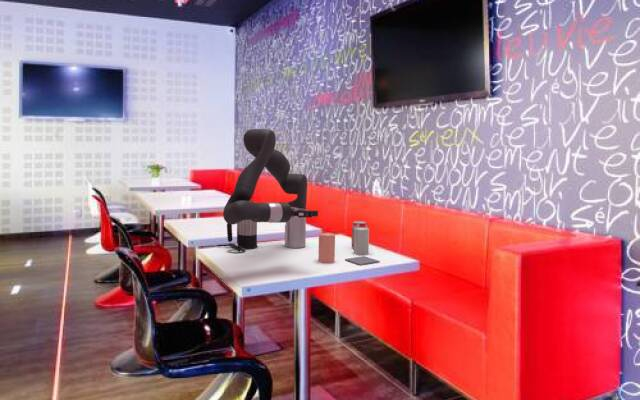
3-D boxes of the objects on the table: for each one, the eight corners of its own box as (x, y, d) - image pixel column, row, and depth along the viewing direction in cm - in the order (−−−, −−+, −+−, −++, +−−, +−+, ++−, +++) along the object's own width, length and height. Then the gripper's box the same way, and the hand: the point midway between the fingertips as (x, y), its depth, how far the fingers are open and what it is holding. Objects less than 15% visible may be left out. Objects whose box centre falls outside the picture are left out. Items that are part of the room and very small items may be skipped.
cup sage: (351, 252, 218) (351, 227, 216) (362, 251, 221) (362, 226, 220) (359, 255, 213) (360, 230, 211) (371, 253, 216) (371, 228, 215)
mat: (344, 260, 203) (344, 259, 203) (364, 257, 209) (364, 256, 209) (360, 265, 195) (360, 264, 195) (379, 262, 201) (379, 261, 201)
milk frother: (255, 245, 232) (255, 213, 230) (262, 252, 217) (262, 218, 215) (224, 246, 228) (224, 214, 226) (229, 254, 213) (229, 219, 211)
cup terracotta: (315, 260, 203) (316, 233, 202) (328, 258, 206) (328, 232, 205) (324, 263, 198) (324, 236, 196) (337, 261, 201) (337, 234, 200)
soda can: (366, 250, 224) (366, 223, 222) (350, 249, 225) (350, 223, 224) (367, 247, 230) (368, 221, 229) (352, 246, 232) (353, 220, 230)
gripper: (287, 203, 178) (322, 204, 188) (265, 200, 189) (300, 201, 199) (286, 224, 178) (321, 224, 189) (264, 220, 190) (299, 220, 200)
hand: (310, 212), depth 194 cm, fingers open, 8 cm apart
